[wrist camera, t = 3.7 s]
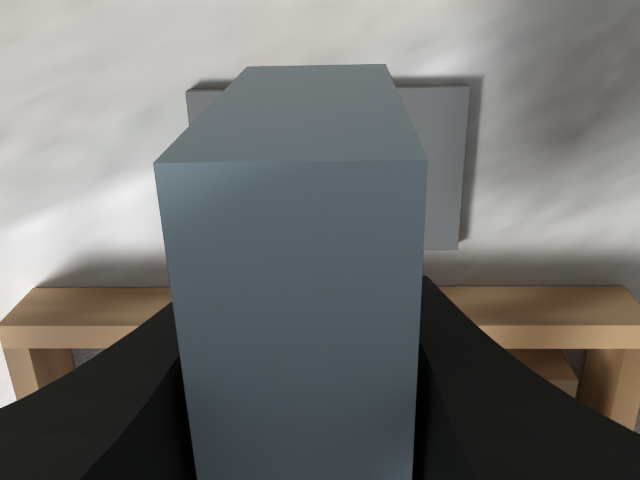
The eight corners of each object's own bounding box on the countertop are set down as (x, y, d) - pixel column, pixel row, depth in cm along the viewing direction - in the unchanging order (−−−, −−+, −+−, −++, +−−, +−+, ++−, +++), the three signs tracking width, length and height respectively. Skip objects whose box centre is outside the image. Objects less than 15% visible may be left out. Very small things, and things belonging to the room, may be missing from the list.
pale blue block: (385, 64, 11) (427, 159, 5) (378, 417, 14) (400, 701, 9) (247, 66, 11) (152, 163, 6) (271, 417, 14) (226, 695, 9)
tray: (623, 285, 20) (658, 325, 18) (577, 512, 24) (601, 567, 22) (33, 287, 21) (-4, 326, 18) (86, 506, 25) (61, 559, 22)
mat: (467, 84, 17) (470, 86, 17) (455, 244, 19) (457, 249, 19) (188, 89, 18) (185, 91, 17) (205, 246, 20) (202, 251, 19)
